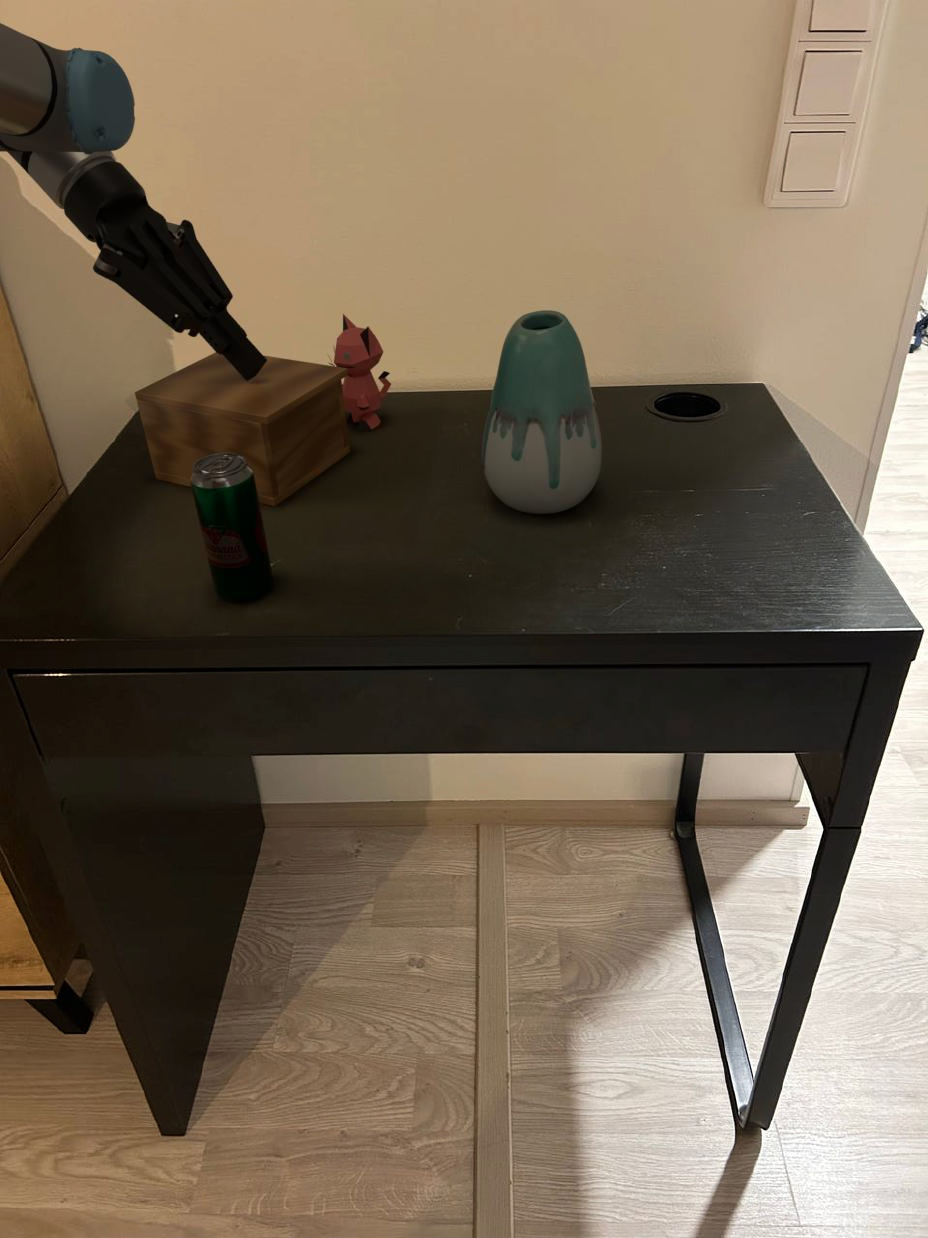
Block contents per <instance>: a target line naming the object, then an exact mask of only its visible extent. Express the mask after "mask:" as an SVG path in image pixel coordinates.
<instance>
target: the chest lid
mask: <svg viewBox="0 0 928 1238" xmlns="http://www.w3.org/2000/svg"><path fill="white" fill-rule="evenodd" d="M262 355H263V354H262ZM263 356H264V357H265V358H266V359H267V362H266V363H265V364H264V366H263V367H262V368H261V370H260V371H259V372H258V374H257V375H256V376H255V377H253V378H252V379H250V380H248V381H246V380H245V379H244V378H243V377H242V376H241V374H240V373H239V372H238V371H237V370H236V369H235V368H234V367H233V366H232V364H231V363H230V362H229V361H228V360H227V359H226V358H225V357H224V356H223V355H222V354H221V355H220V354H218V353H217V352H213V353H211V354H210V355H207V356H205V357H203V358H201V359H199V360H197V361H195V362H193V363H191V364H189V365H187V366H185V367H183V368H181V369H179V370H177V371H175V372H172V373H171V374H169V375H167V376H165V377H163V378H161V379H159V380H157V381H154V382H153V383H150V384H149V385H146V386H144V387H143V388H141V389H138V390H136V391H134V395H135V399H136V401H137V400H142V401H147V402H152V403H157V404H163V405H168V406H173V407H179V408H184V409H189V410H194V411H200V412H205V413H210V414H215V415H221V416H226V417H231V418H236V419H242V420H247V421H252V422H257V423H263V424H270V423H271V422H273V421H275V420H276V419H278V418H280V417H281V416H283V415H284V414H286V413H288V412H289V411H291V410H293V409H294V408H296V407H297V406H299V405H301V404H302V403H304V402H306V401H307V400H309V399H310V398H312V397H314V396H315V395H317V394H319V393H320V392H322V391H323V390H325V389H327V388H328V387H330V386H332V385H333V384H335V383H336V382H338V381H340V380H341V381H342V380H344V377H346V376H348V371H347V368H342V367H336V365H334V366H332V365H330V364H320V363H317V362H308V361H303V360H297V359H289V358H283V357H276V356H270V355H263Z"/></svg>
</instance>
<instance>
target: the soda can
mask: <svg viewBox="0 0 928 1238" xmlns="http://www.w3.org/2000/svg"><path fill="white" fill-rule="evenodd" d="M192 471H193V473H192V476H191V478H190V483H191V487H190V488H191V492H192V496H193V500H194V506H195V509H196V514H197V519H198V522H199V528H200V531H201V537H202V540H203V544H204V548H205V549H204V550H205V554H206V558H207V562H208V567H209V571H210V575H211V579H212V580H211V581H212V584H213V589H214V592H215V593H216V594H217V595H218V596H219V597H220V598H222V599H224V600H226V601H229V602H231V603H232V602H233V603H247V602H251V601H254V600H256V599H259V598H262V597H263V596H264V595H265V594H266V593H267V592H268V591H269V590H270V588H271V587H272V585H273V584H274V576H273V570H272V564H271V558H270V553H269V548H268V542H267V538H266V537H267V536H266V532H265V527H264V520H263V516H262V510H261V505H260V504H261V503H259V499H258V493H257V488H256V483H255V477H254V472H253V469H252V468H251V467H250V466H249V465H248V464H247V460H246V458H245V457H244V456H242V455H240V454H237V453H227V452H226V453H216V454H211V455H208V456H205V457H203V458H200V459H199V460H197V461H196V462H195V463H194V464H193V466H192Z"/></svg>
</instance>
